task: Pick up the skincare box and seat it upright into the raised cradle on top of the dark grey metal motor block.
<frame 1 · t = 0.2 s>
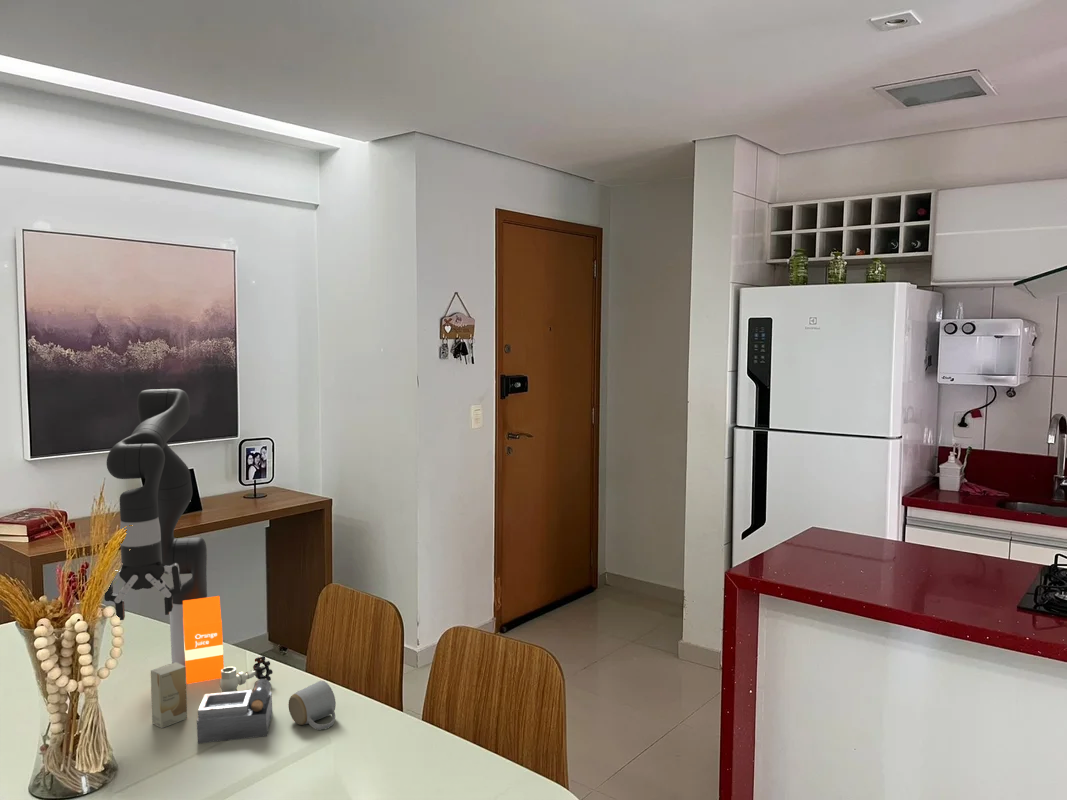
hand: (144, 616, 170), 28 cm above the table, tool pointing down, fingers open, 8 cm apart
skincare box: (170, 721, 183), on the table
ceramic mug: (316, 721, 182), on the table
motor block: (236, 727, 180), on the table
valve: (243, 691, 198), on the table
orange juice: (204, 675, 207), on the table
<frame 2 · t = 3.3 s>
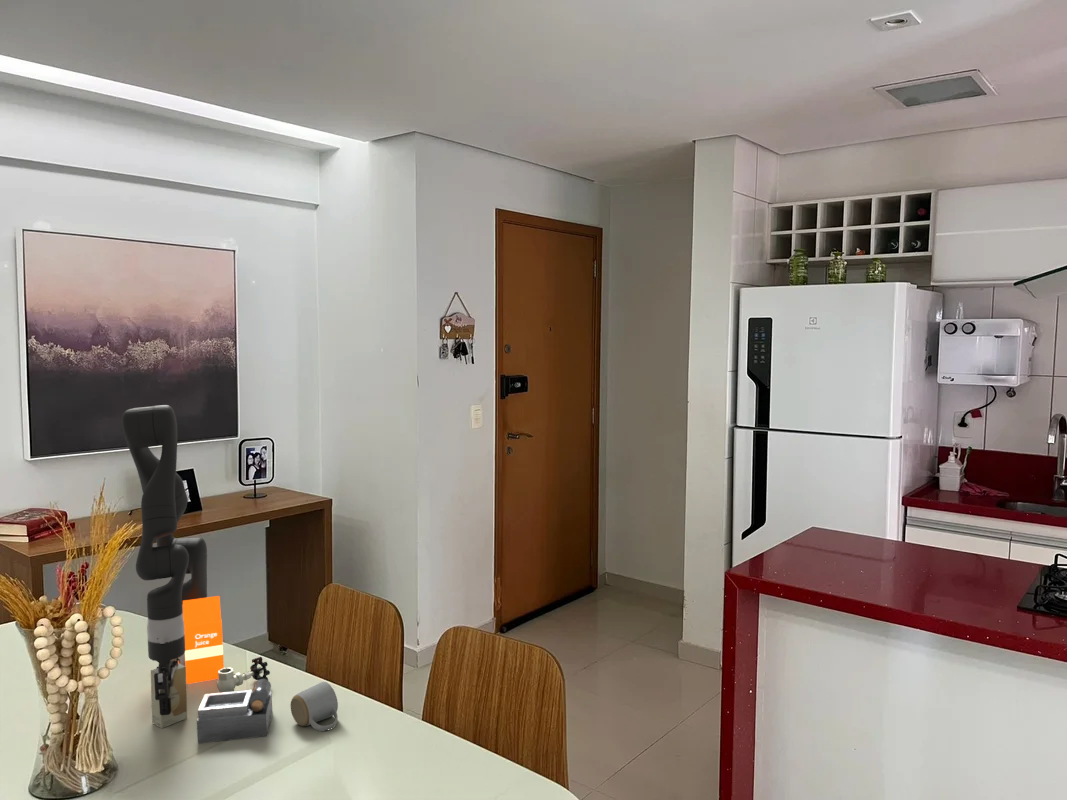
hand: (169, 706, 183), 3 cm above the table, tool pointing down, fingers closed on skincare box, 7 cm apart
skincare box: (170, 721, 183), on the table, touching gripper
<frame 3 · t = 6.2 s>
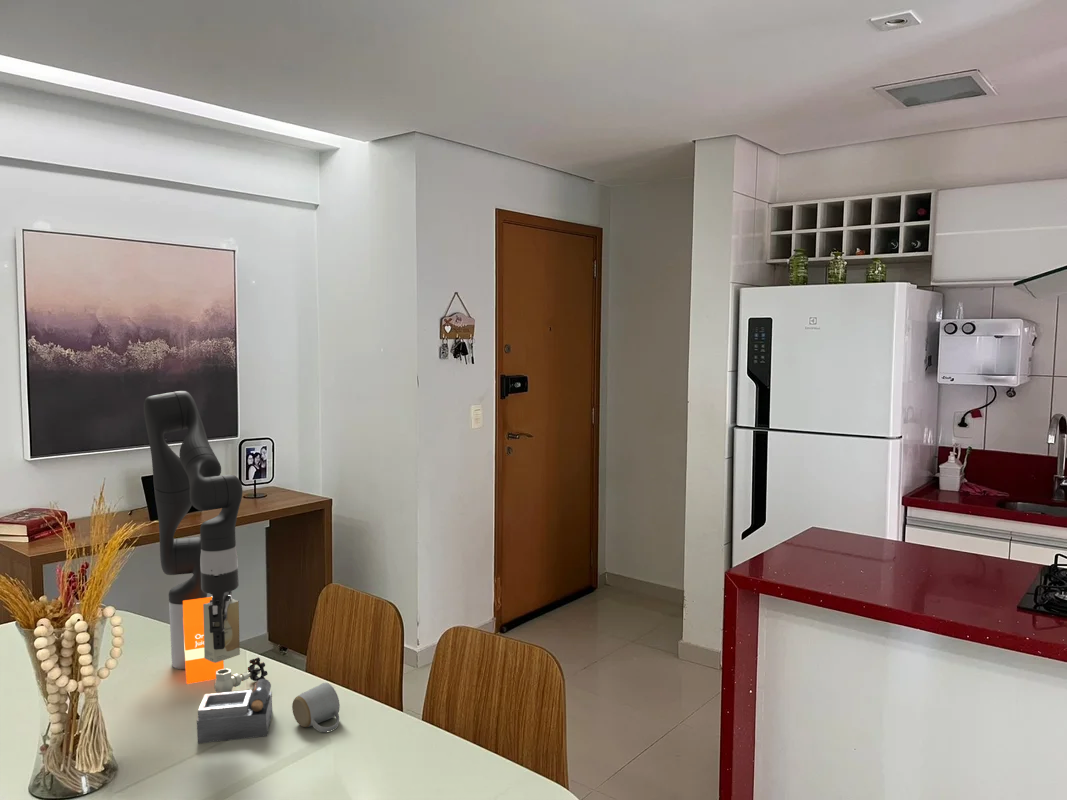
hand: (222, 641, 177), 20 cm above the table, tool pointing down, fingers closed on skincare box, 7 cm apart
skincare box: (222, 657, 178), point 16 cm above the table, touching gripper
when the fingers open (10 cm above the table, at t = 9.0 s): skincare box stays where it is, resting on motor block.
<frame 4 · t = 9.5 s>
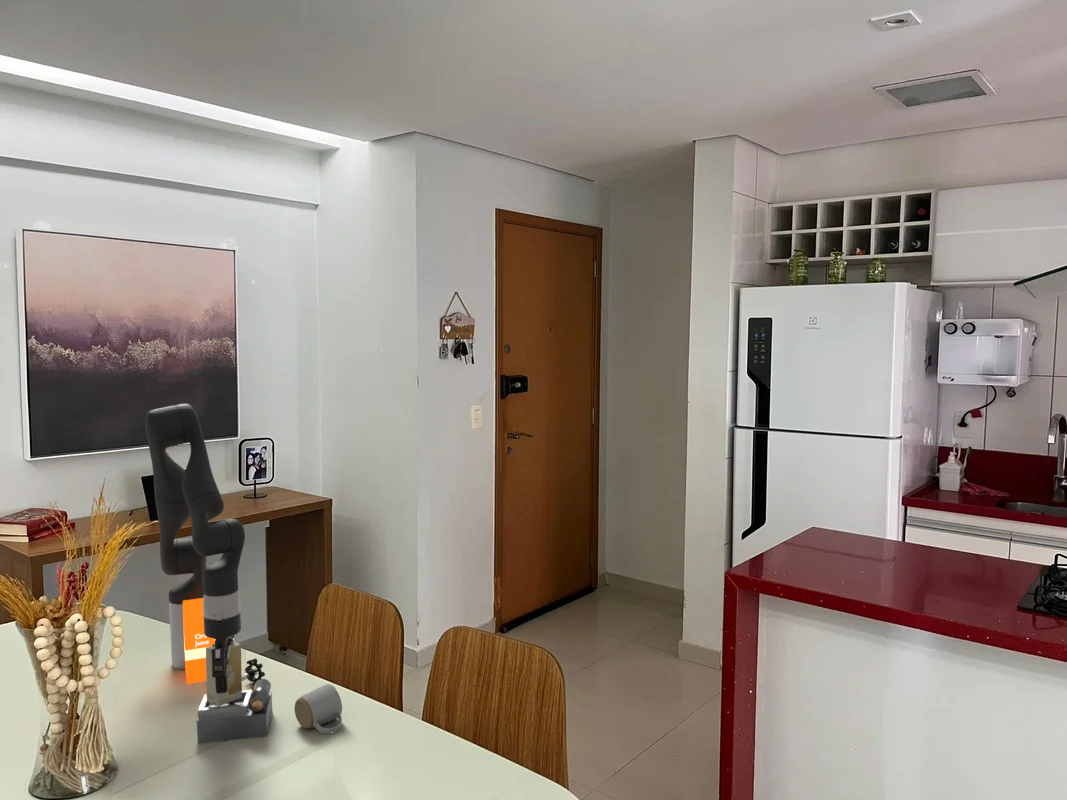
hand: (225, 683, 178), 10 cm above the table, tool pointing down, fingers open, 8 cm apart
skincare box: (225, 700, 179), point 6 cm above the table, touching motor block
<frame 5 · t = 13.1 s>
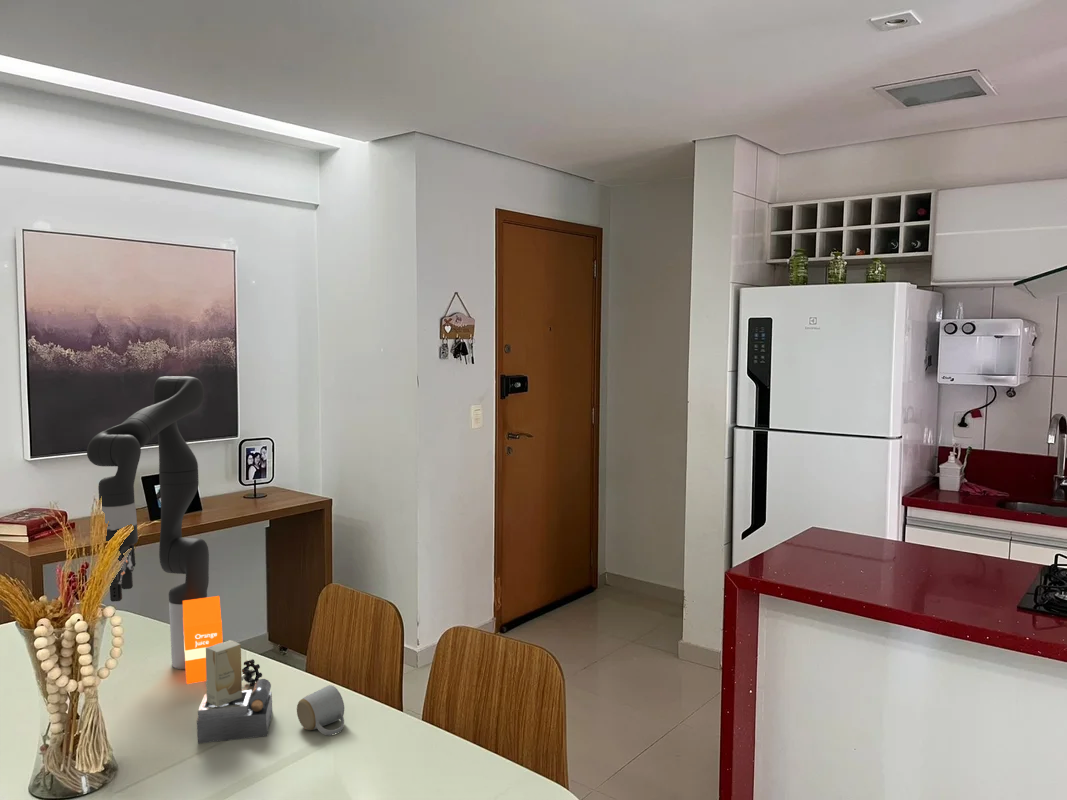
hand: (122, 594, 183), 28 cm above the table, tool pointing down, fingers open, 8 cm apart
at the end: skincare box inside the target area on the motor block (0.1 cm from its centre), point 6.3 cm above the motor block's base; skincare box tilted 0°; the gripper is holding nothing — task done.
